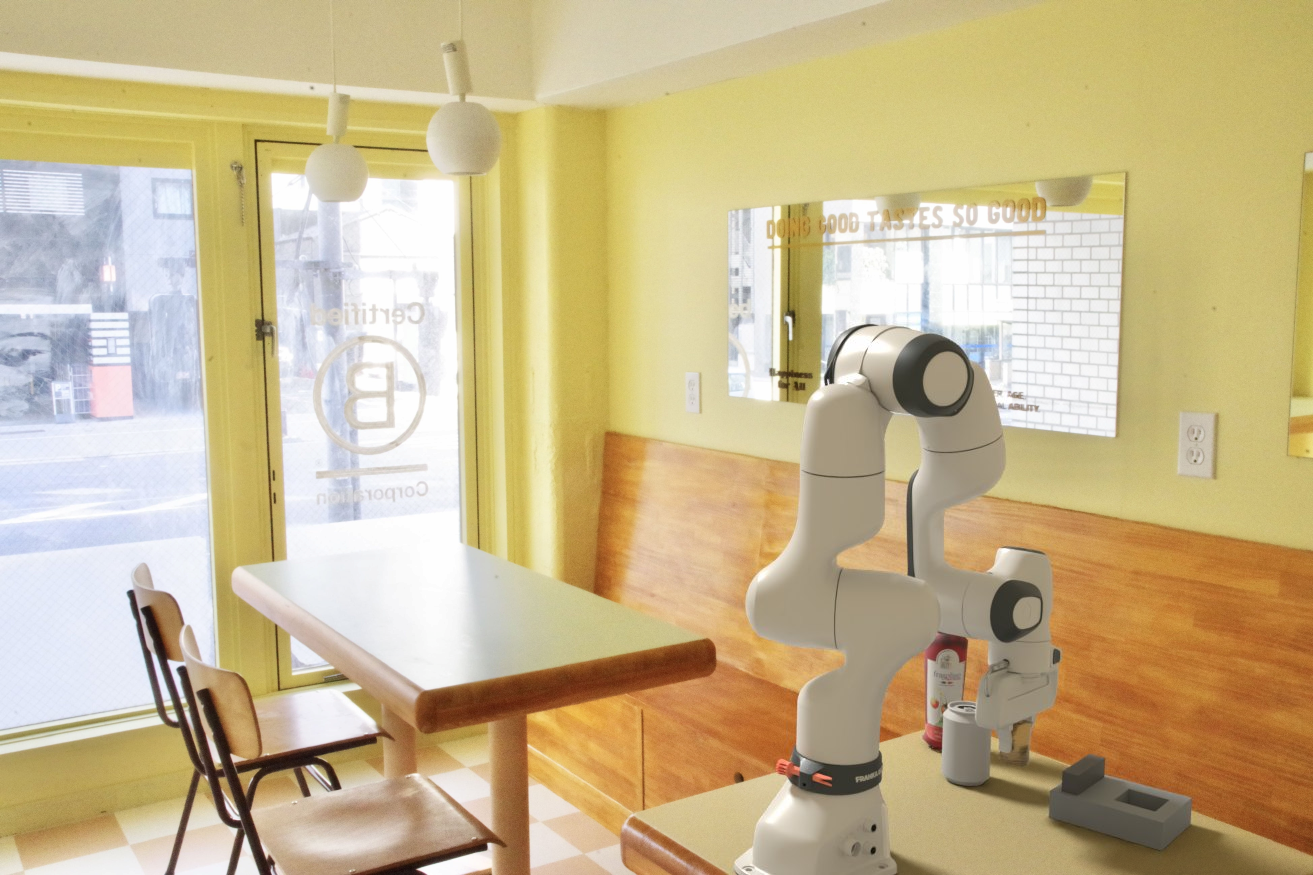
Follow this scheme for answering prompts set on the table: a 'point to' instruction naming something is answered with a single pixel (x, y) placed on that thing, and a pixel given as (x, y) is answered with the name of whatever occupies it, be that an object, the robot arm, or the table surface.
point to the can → (965, 745)
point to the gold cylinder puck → (1018, 745)
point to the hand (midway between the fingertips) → (1014, 747)
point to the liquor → (942, 682)
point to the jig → (1118, 805)
